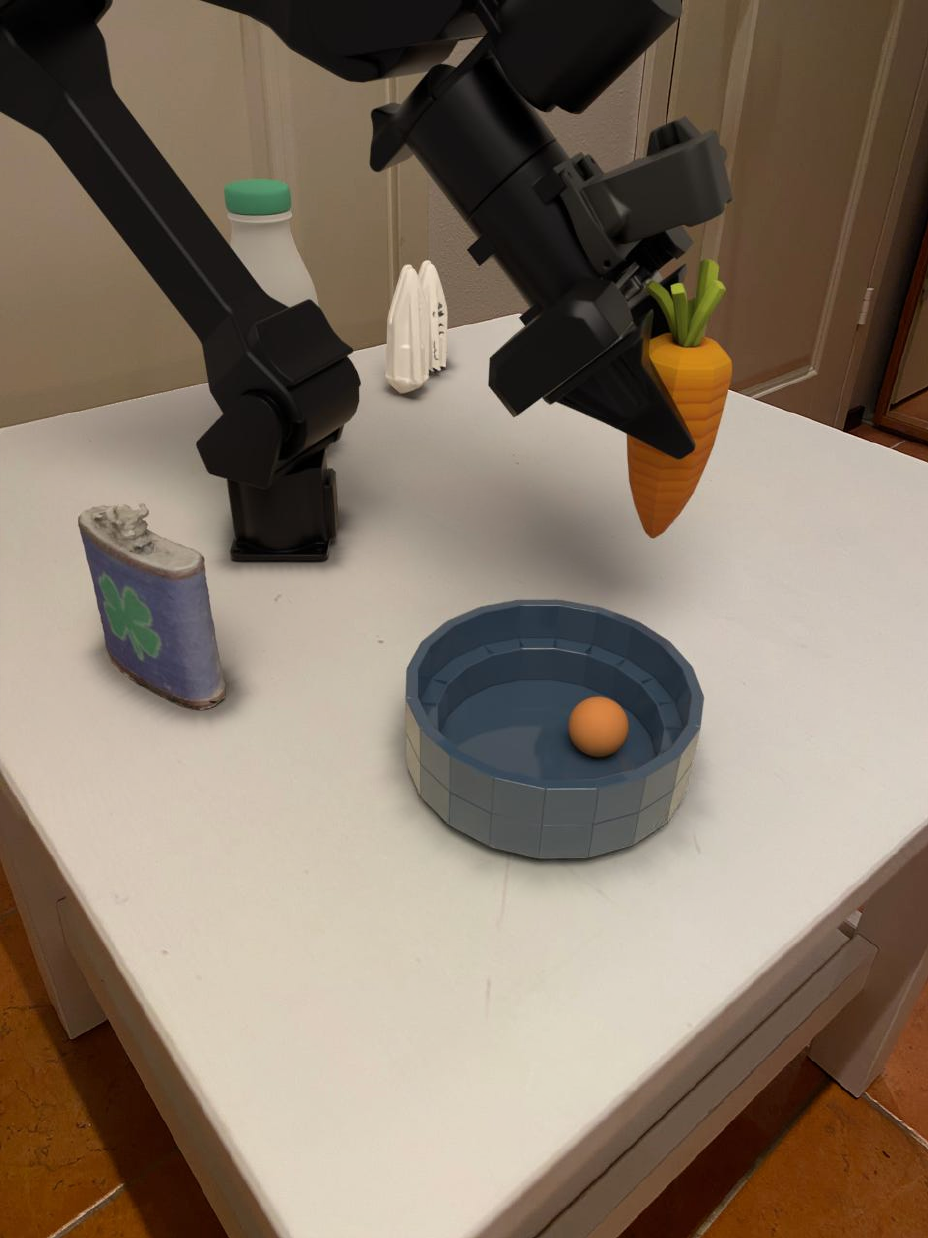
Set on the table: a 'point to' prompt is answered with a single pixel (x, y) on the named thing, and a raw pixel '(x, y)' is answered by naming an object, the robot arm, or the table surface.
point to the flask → (153, 606)
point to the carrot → (682, 400)
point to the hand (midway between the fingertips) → (696, 434)
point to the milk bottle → (268, 239)
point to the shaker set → (416, 328)
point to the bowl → (549, 727)
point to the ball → (598, 726)
